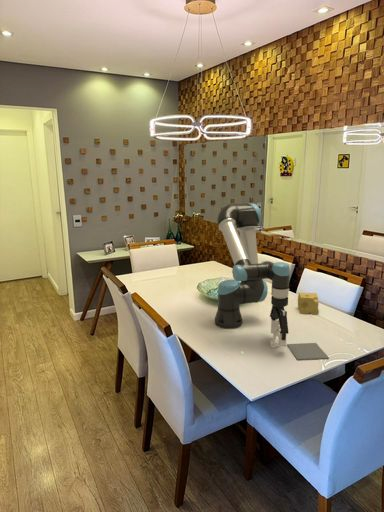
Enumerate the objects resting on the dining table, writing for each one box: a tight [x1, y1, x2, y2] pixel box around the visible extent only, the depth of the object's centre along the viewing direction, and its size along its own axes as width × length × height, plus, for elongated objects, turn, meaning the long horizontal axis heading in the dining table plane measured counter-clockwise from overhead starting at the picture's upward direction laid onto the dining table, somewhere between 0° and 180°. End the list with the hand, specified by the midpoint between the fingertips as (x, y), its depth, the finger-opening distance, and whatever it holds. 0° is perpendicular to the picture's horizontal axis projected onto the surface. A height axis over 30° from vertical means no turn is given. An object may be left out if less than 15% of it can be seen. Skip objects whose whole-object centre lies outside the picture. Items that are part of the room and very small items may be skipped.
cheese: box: [297, 292, 320, 316], centre depth 206 cm, size 10×11×10 cm
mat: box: [286, 342, 330, 361], centre depth 159 cm, size 14×14×1 cm
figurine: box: [269, 319, 281, 349], centre depth 165 cm, size 5×9×12 cm, turn 124°
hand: (278, 339), depth 166 cm, fingers open, 13 cm apart
